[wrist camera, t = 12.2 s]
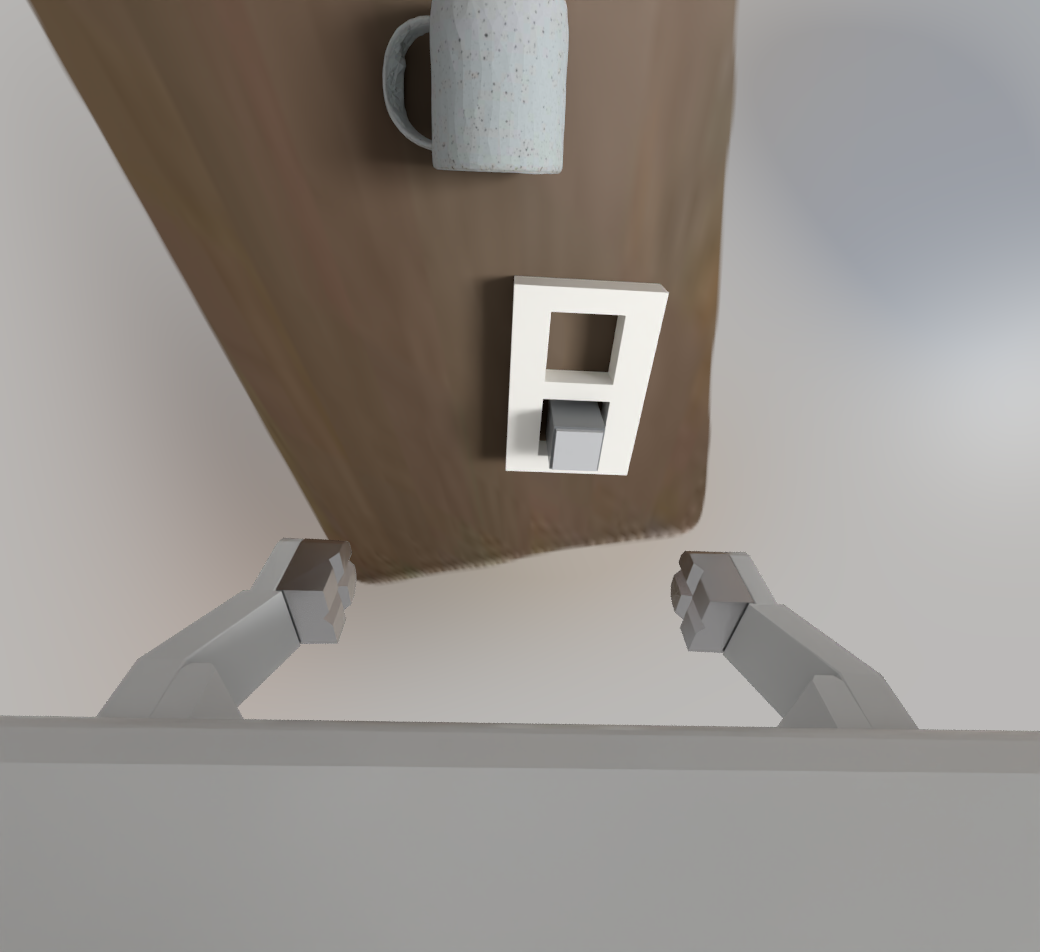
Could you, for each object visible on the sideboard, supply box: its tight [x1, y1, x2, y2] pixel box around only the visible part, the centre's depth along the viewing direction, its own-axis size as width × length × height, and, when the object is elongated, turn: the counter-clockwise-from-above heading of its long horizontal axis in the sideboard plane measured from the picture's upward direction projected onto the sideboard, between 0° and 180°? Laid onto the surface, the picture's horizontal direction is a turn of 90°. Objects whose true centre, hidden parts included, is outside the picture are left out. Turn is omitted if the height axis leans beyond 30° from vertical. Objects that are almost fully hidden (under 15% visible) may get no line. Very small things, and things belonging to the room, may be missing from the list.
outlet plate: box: [506, 276, 669, 475], centre depth 39 cm, size 16×11×2 cm
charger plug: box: [546, 399, 605, 471], centre depth 40 cm, size 4×4×6 cm
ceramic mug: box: [382, 0, 569, 174], centre depth 26 cm, size 11×8×8 cm
